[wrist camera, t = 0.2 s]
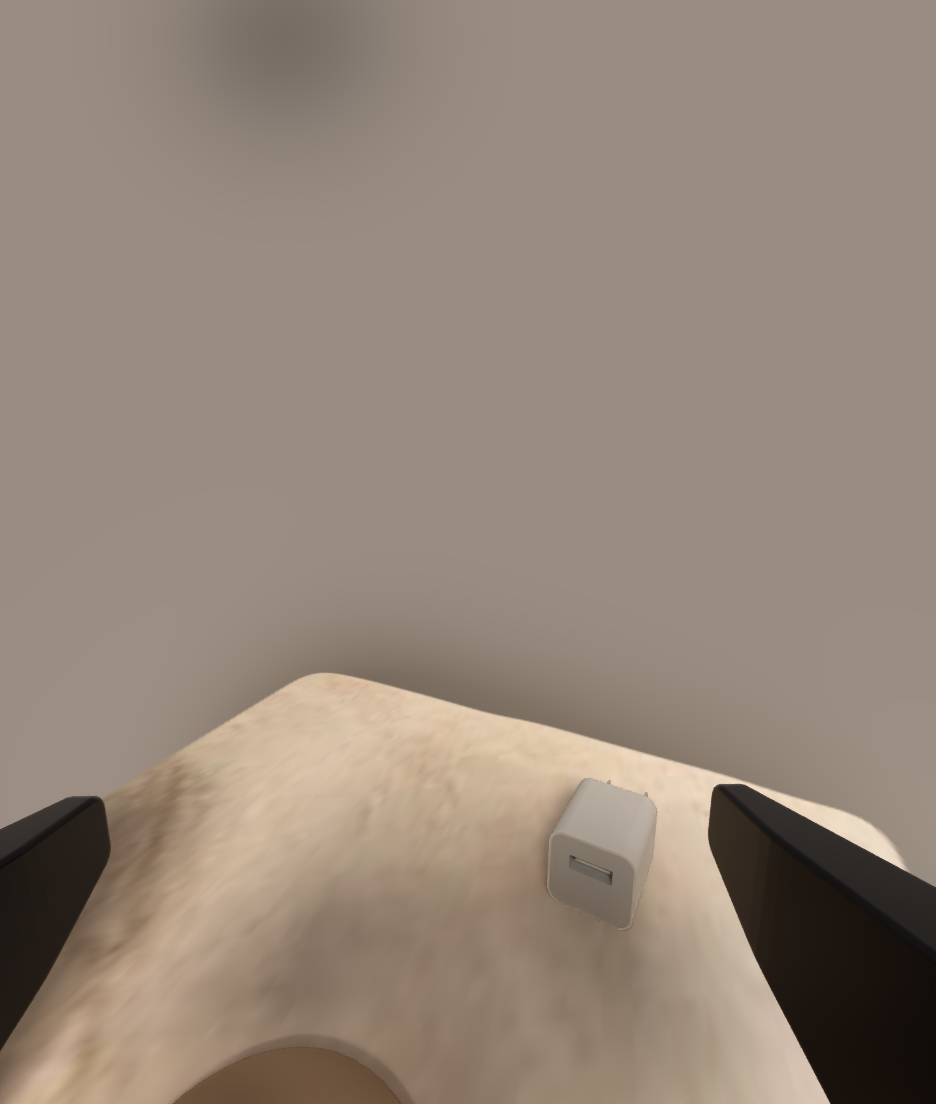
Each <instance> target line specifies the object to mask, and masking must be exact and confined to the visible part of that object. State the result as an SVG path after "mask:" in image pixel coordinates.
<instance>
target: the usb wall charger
mask: <svg viewBox="0 0 936 1104" xmlns="http://www.w3.org/2000/svg"><path fill="white" fill-rule="evenodd" d="M610 783H611V781H610V780H609V781H608V782H607V783H604V782H601V781H598V780H595V779H591V778H587V779H584V780H582V781H581V782H580V784H579V786H578V788H577V789H576V791H575V793H574V795H573V797H572V798H571V800H570V802H569V804H568V805H567V807H566V809H565V811H564V813H563V814H562V816H561V818H560V820H559V821H558V823H557V825H556V827H555V829H554V830H553V832H552V834H551V836H550V838H549V851H548V873H547V889H548V892H549V894H550V895H551V897H552V898H553V899H554V900H555V901H557V902H559V903H561V904H563V905H566V906H568V907H570V908H572V909H575V910H577V911H579V912H581V913H584V914H586V915H588V916H590V917H593V918H595V919H597V920H599V921H602V922H604V923H606V924H608V925H611V926H613V927H615V928H617V929H619V930H626V929H629V928H630V927H631V925H632V922H633V919H634V916H635V913H636V909H637V906H638V903H639V900H640V896H641V893H642V890H643V887H644V883H645V880H646V877H647V873H648V870H649V867H650V864H651V860H652V857H653V850H654V840H655V830H656V820H657V808H656V806H655V804H654V803H653V801H652V800H651V799H649V798H648V793H647V792H646V793H645V795H641V794H638V793H635V792H632V791H629V790H626V789H622V788H619V787H616V786H613V785H610Z"/></svg>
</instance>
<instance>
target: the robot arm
mask: <svg viewBox="0 0 936 1104" xmlns="http://www.w3.org/2000/svg"><path fill="white" fill-rule="evenodd" d="M708 839H709V845H710V849H711V851H712V854H713V857H714V859H715V861H716V864H717V866H718V869H719V871H720V874H721V876H722V879H723V881H724V884H725V886H726V888H727V891H728V893H729V896H730V898H731V901H732V903H733V906H734V908H735V911H736V913H737V916H738V918H739V920H740V923H741V925H742V928H743V930H744V933H745V935H746V938H747V940H748V942H749V945H750V947H751V949H752V952H753V954H754V956H755V958H756V960H757V962H758V964H759V966H760V969H761V971H762V973H763V975H764V977H765V979H766V981H767V982H768V984H769V986H770V988H771V990H772V992H773V994H774V996H775V998H776V1000H777V1002H778V1004H779V1006H780V1008H781V1009H782V1011H783V1013H784V1015H785V1017H786V1019H787V1021H788V1023H789V1025H790V1027H791V1029H792V1031H793V1033H794V1035H795V1036H796V1038H797V1040H798V1042H799V1044H800V1046H801V1048H802V1050H803V1052H804V1054H805V1056H806V1058H807V1060H808V1062H809V1063H810V1065H811V1067H812V1069H813V1071H814V1073H815V1075H816V1077H817V1079H818V1081H819V1083H820V1085H821V1087H822V1089H823V1090H824V1092H825V1094H826V1096H827V1098H828V1100H829V1102H830V1104H936V887H934V886H932V885H930V884H929V883H927V882H925V881H923V880H921V879H919V878H917V877H916V876H914V875H912V874H910V873H908V872H906V871H904V870H902V869H901V868H899V867H897V866H895V865H893V864H891V863H889V862H888V861H886V860H884V859H882V858H880V857H878V856H876V855H874V854H873V853H871V852H869V851H867V850H865V849H863V848H861V847H860V846H858V845H856V844H854V843H852V842H850V841H848V840H847V839H845V838H843V837H841V836H839V835H837V834H835V833H834V832H832V831H830V830H828V829H826V828H824V827H822V826H820V825H819V824H817V823H815V822H813V821H811V820H809V819H807V818H806V817H804V816H802V815H800V814H798V813H796V812H794V811H793V810H791V809H789V808H787V807H785V806H783V805H781V804H780V803H778V802H776V801H774V800H772V799H770V798H768V797H766V796H765V795H763V794H761V793H759V792H757V791H755V790H753V789H752V788H750V787H748V786H746V785H743V784H719V785H717V786H716V787H714V789H713V792H712V797H711V807H710V818H709V828H708ZM110 849H111V843H110V836H109V830H108V823H107V817H106V810H105V805H104V802H103V801H102V799H101V798H99V797H97V796H73V797H68V798H65V799H63V800H61V801H59V802H57V803H55V804H53V805H51V806H49V807H46V808H44V809H42V810H40V811H38V812H36V813H34V814H31V815H29V816H27V817H25V818H23V819H21V820H19V821H17V822H15V823H13V824H10V825H8V826H6V827H4V828H2V829H0V1051H1V1049H2V1048H3V1046H4V1044H5V1043H6V1041H7V1040H8V1038H9V1037H10V1035H11V1033H12V1032H13V1030H14V1029H15V1027H16V1026H17V1024H18V1022H19V1021H20V1019H21V1018H22V1016H23V1015H24V1013H25V1011H26V1010H27V1008H28V1007H29V1005H30V1004H31V1002H32V1000H33V999H34V997H35V996H36V994H37V992H38V991H39V989H40V987H41V986H42V984H43V982H44V981H45V979H46V977H47V976H48V974H49V972H50V970H51V968H52V967H53V965H54V963H55V961H56V959H57V958H58V956H59V954H60V952H61V950H62V948H63V946H64V944H65V943H66V941H67V939H68V937H69V935H70V933H71V931H72V929H73V927H74V925H75V923H76V922H77V920H78V918H79V916H80V914H81V912H82V910H83V908H84V906H85V904H86V903H87V901H88V899H89V897H90V895H91V893H92V891H93V889H94V887H95V885H96V884H97V882H98V880H99V878H100V876H101V874H102V872H103V870H104V868H105V866H106V864H107V862H108V859H109V855H110Z"/></svg>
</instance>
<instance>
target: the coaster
mask: <svg viewBox="0 0 936 1104" xmlns="http://www.w3.org/2000/svg"><path fill="white" fill-rule="evenodd" d="M173 1104H400V1102H399V1100H398V1099H397V1097H396V1096H395V1095H394V1094H393V1092H392V1091H391V1090H390V1089H389V1087H388V1086H387V1085H386V1084H385V1083H384V1082H383V1081H382V1080H381V1079H380V1078H379V1077H378V1076H377V1075H376V1074H374V1073H373V1072H372V1071H371V1070H370V1069H368V1068H367V1067H365V1066H364V1065H362V1064H360V1063H359V1062H357V1061H356V1060H354V1059H352V1058H349V1057H347V1056H345V1055H342V1054H340V1053H337V1052H333V1051H329V1050H325V1049H321V1048H309V1047H294V1048H282V1049H277V1050H272V1051H267V1052H263V1053H260V1054H257V1055H254V1056H251V1057H248V1058H245V1059H243V1060H241V1061H239V1062H236V1063H234V1064H232V1065H230V1066H228V1067H226V1068H224V1069H222V1070H220V1071H219V1072H217V1073H215V1074H213V1075H212V1076H210V1077H208V1078H207V1079H205V1080H203V1081H202V1082H201V1083H199V1084H198V1085H196V1086H195V1087H194V1088H192V1089H191V1090H190V1091H188V1092H187V1093H185V1094H184V1095H183V1096H181V1097H180V1098H179V1099H178V1100H177V1101H176V1102H174V1103H173Z"/></svg>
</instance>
